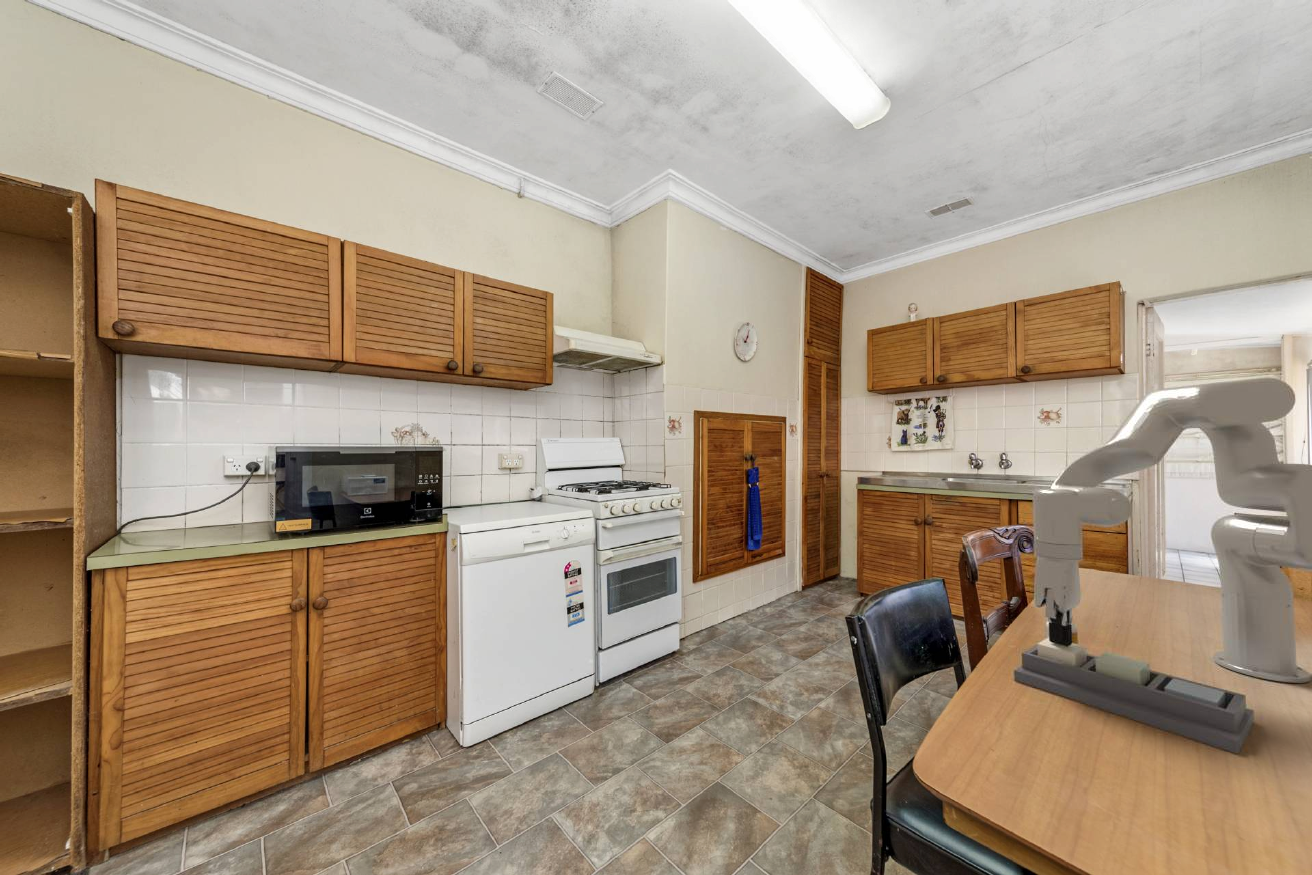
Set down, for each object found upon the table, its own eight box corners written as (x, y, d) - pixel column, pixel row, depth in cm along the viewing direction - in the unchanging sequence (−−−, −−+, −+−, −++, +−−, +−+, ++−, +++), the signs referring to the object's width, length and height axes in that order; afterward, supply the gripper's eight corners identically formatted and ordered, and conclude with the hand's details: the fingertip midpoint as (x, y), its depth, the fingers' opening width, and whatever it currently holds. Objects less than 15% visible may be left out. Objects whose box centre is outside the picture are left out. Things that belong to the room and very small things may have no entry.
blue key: (1174, 695, 87) (1173, 678, 87) (1225, 709, 82) (1224, 691, 82) (1165, 705, 83) (1164, 687, 84) (1218, 721, 78) (1217, 702, 79)
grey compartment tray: (1044, 661, 106) (1043, 638, 106) (1254, 722, 82) (1252, 692, 82) (1014, 680, 98) (1013, 655, 98) (1237, 754, 74) (1236, 720, 74)
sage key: (1106, 667, 94) (1106, 651, 94) (1150, 679, 89) (1149, 662, 89) (1096, 675, 91) (1095, 659, 91) (1140, 688, 86) (1139, 671, 86)
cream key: (1049, 651, 102) (1049, 637, 102) (1086, 661, 97) (1086, 646, 97) (1037, 658, 99) (1037, 643, 99) (1075, 669, 94) (1075, 653, 94)
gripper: (1049, 543, 105) (1052, 629, 105) (1019, 552, 97) (1022, 645, 97) (1094, 549, 99) (1097, 641, 99) (1067, 559, 91) (1070, 659, 90)
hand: (1060, 643), depth 98 cm, fingers closed
